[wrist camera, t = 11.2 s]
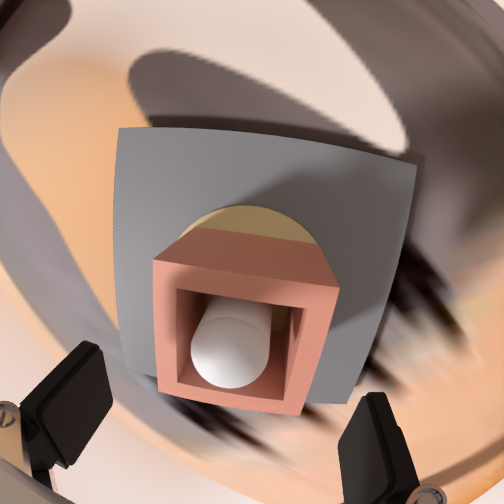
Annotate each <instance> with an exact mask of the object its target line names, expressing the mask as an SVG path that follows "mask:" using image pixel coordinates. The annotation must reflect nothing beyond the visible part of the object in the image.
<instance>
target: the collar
mask: <svg viewBox="0 0 504 504" xmlns="http://www.w3.org/2000/svg"><path fill="white" fill-rule="evenodd" d="M339 289H340V287H339V285H338V283H337V281H336V279H335V276H334V274H333V272H332V270H331V268H330V266H329V264H328V262H327V260H326V258H325V256H324V254H323V252H322V250H321V248H320V246H319V244H313V243H307V242H300V241H294V240H287V239H280V238H274V237H267V236H260V235H253V234H246V233H239V232H232V231H225V230H218V229H211V228H204V227H196V226H195V227H194V228H193V229H191V230H190V231H189V232H187V233H186V234H185V235H183V236H182V237H181V238H179V239H178V240H177V241H176V242H174V243H173V244H172V245H170V246H169V247H168V248H166V249H165V250H164V251H163V252H161V253H160V254H159V255H158V256H156V257H155V258H154V259H153V318H154V339H155V354H156V367H157V379H158V389H159V392H163V393H167V394H170V395H174V396H178V397H183V398H187V399H191V400H196V401H201V402H205V403H210V404H215V405H221V406H226V407H232V408H238V409H245V410H252V411H259V412H267V413H276V414H286V415H298V416H300V413H301V411H302V408H303V405H304V402H305V400H306V397H307V394H308V391H309V389H310V386H311V383H312V380H313V377H314V374H315V371H316V368H317V365H318V362H319V359H320V356H321V353H322V349H323V346H324V343H325V340H326V336H327V333H328V329H329V326H330V323H331V319H332V315H333V312H334V308H335V305H336V301H337V297H338V293H339ZM207 294H213V295H219V296H225V297H231V298H237V299H244V300H250V301H257V302H263V303H270V304H277V305H284V306H289V309H288V313H287V318H286V323H285V328H284V332H283V333H278V332H270V348H269V358H268V362H267V365H266V367H265V369H264V370H263V372H262V373H261V375H260V376H259V377H258V378H257V379H256V380H254V381H253V382H251V383H250V384H248V385H245V386H243V387H239V388H222V387H218V386H215V385H213V384H211V383H209V382H208V381H207V380H205V379H204V378H203V377H202V376H201V375H200V374H199V373H198V371H197V370H196V368H195V366H194V364H193V361H192V357H191V342H192V339H193V336H194V334H195V331H196V329H197V327H198V325H199V323H200V321H201V319H202V317H203V315H204V313H205V311H206V301H207Z"/></svg>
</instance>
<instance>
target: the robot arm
mask: <svg viewBox="0 0 504 504" xmlns="http://www.w3.org/2000/svg"><path fill="white" fill-rule="evenodd" d="M112 404H113V397H112V393H111V389H110V385H109V381H108V376H107V371H106V367H105V362H104V356H103V352H102V350H100V348H99V346H98V345H97V344H94V343H91V342H88V341H82V342H81V343H80V344H79V345H78V346H77V347H76V348H75V349H74V350H73V351H72V352H71V353H70V354H69V355H68V356H67V357H66V358H64V359H63V360H62V361H61V362H60V363H59V365H57V366H56V368H54V369H53V370H52V371H51V372H50V373H49V374H48V375H47V376H46V377H45V378H44V379H43V380H42V381H41V382H40V383H39V384H38V386H36V387H35V388H34V389H33V391H32V392H31V393H30V394H29V395H28V396H27V397H26V398H25V399H24V400H23V401H22V402H21V403H20V405H21V406H20V407H19V408H18V407H17V406H16V405H15V404H13V403H12V402H9V401H0V504H75V503H73V502H72V501H70V500H68V499H66V498H64V497H63V496H61V495H59V494H58V490H57V487H56V482H55V478H54V474H53V469H52V467H53V466H54V464H55V463H56V464H57V465H59V466H61V467H63V468H65V469H67V468H68V467H69V465H73V464H74V463H75V462H76V460H77V458H78V457H79V456H80V454H81V453H82V451H83V450H84V448H85V446H86V445H87V443H88V442H89V440H90V439H91V437H92V436H93V434H94V433H95V431H96V430H97V428H98V426H99V425H100V423H101V422H102V420H103V419H104V417H105V416H106V414H107V413H108V411H109V410H110V408H111V407H112ZM338 454H339V462H340V469H341V477H342V486H343V495H344V504H447V497H446V495H445V492H444V491H443V490H442V489H441V488H439V487H438V486H435V485H431V484H425V485H422V486H420V483H419V480H418V477H417V474H416V471H415V468H414V464H413V461H412V458H411V455H410V452H409V450H408V447H407V444H406V441H405V438H404V435H403V432H402V430H401V428H400V427H399V426H397V423H396V420H395V418H394V415H393V412H392V410H391V407H390V404H389V402H388V399H387V396H386V394H385V393H384V392H368V393H367V395H366V396H363V397H362V398H361V400H360V402H359V404H358V406H357V408H356V410H355V412H354V414H353V416H352V418H351V420H350V421H349V423H348V425H347V427H346V429H345V431H344V433H343V434H342V436H341V438H340V440H339V442H338Z"/></svg>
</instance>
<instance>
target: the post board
mask: <svg viewBox="0 0 504 504" xmlns="http://www.w3.org/2000/svg"><path fill="white" fill-rule="evenodd" d="M416 172H417V165H413V164H410V163H406V162H403V161H399V160H396V159H392V158H388V157H384V156H380V155H376V154H372V153H368V152H363V151H359V150H354V149H350V148H345V147H340V146H335V145H330V144H324V143H319V142H313V141H307V140H301V139H295V138H288V137H281V136H274V135H266V134H257V133H248V132H238V131H226V130H212V129H195V128H162V127H142V128H119V133H118V142H117V152H116V164H115V178H114V200H113V252H114V254H113V255H114V276H115V289H116V290H115V291H116V302H117V303H116V304H117V313H118V323H119V331H120V339H121V346H122V353H123V359H124V365H125V368H126V369H130V370H133V371H136V372H140V373H143V374H147V375H150V376H154V377H157V367H156V354H155V339H154V318H153V259H154V258H155V257H156V256H158V255H159V254H160V253H161V252H163V251H164V250H165V249H166V248H168V247H169V246H170V245H172V244H173V243H174V242H176V241H177V240H178V239H179V238H181V237H182V236H183V235H185V234H186V233H187V232H189V231H190V230H191V229H193V228H194V227H195V226H196V227H204V228H211V229H218V230H225V231H232V232H239V233H246V234H253V235H260V236H267V237H274V238H280V239H287V240H294V241H300V242H307V243H313V244H319V246H320V248H321V250H322V252H323V254H324V256H325V258H326V260H327V262H328V264H329V266H330V268H331V270H332V272H333V274H334V276H335V279H336V281H337V283H338V285H339V287H340V289H339V293H338V297H337V301H336V305H335V308H334V312H333V315H332V319H331V323H330V326H329V329H328V333H327V336H326V340H325V343H324V346H323V349H322V353H321V356H320V359H319V362H318V365H317V368H316V371H315V374H314V377H313V380H312V383H311V386H310V389H309V391H308V394H307V397H306V400H305V402H311V403H330V404H347V402H348V399H349V397H350V395H351V393H352V391H353V389H354V386H355V384H356V382H357V380H358V377H359V375H360V373H361V370H362V368H363V365H364V363H365V361H366V358H367V356H368V353H369V351H370V348H371V345H372V343H373V340H374V337H375V335H376V332H377V329H378V326H379V323H380V321H381V318H382V315H383V312H384V309H385V306H386V302H387V299H388V296H389V293H390V290H391V286H392V283H393V279H394V276H395V272H396V269H397V265H398V261H399V257H400V253H401V249H402V245H403V241H404V237H405V232H406V228H407V223H408V218H409V213H410V208H411V203H412V197H413V191H414V185H415V179H416ZM288 309H289V306H284V305H277V304H270V303H263V302H257V301H250V300H244V299H237V298H231V297H225V296H219V295H213V294H207V301H206V311H205V313H204V315H203V317H202V319H201V321H200V323H199V325H198V327H197V329H196V331H195V334H194V336H193V339H192V342H191V357H192V361H193V364H194V366H195V368H196V370H197V371H198V373H199V374H200V375H201V376H202V377H203V378H204V379H205V380H207V381H208V382H209V383H211V384H213V385H215V386H218V387H222V388H239V387H243V386H245V385H248V384H250V383H251V382H253V381H254V380H256V379H257V378H258V377H259V376H260V375H261V373H262V372H263V370H264V369H265V367H266V365H267V362H268V358H269V348H270V332H278V333H283V332H284V328H285V323H286V318H287V313H288Z"/></svg>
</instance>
